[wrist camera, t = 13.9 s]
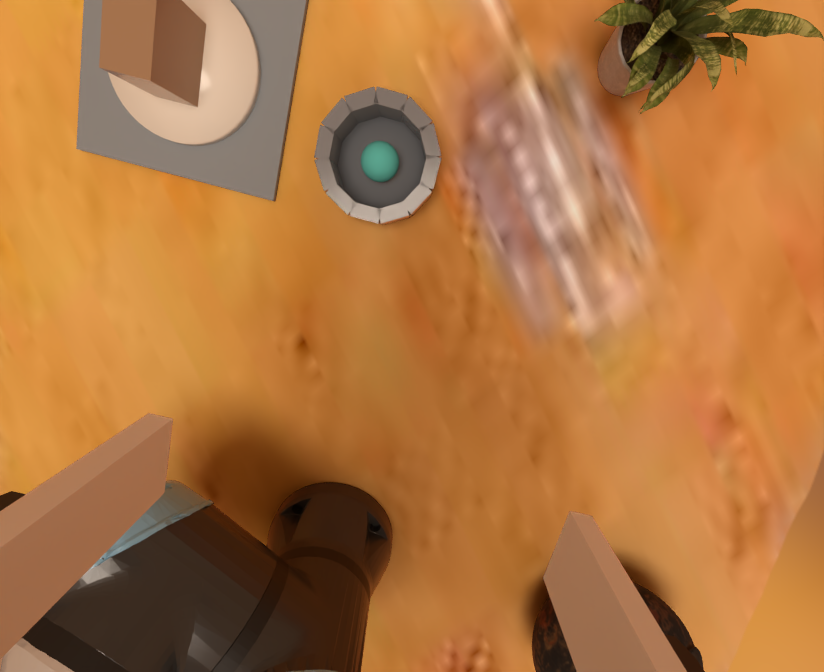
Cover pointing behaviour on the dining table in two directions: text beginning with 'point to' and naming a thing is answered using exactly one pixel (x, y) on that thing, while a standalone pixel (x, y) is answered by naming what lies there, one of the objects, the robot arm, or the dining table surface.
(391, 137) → the bowl
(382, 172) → the ball
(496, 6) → the dining table surface
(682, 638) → the black vase
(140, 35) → the lid
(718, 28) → the house plant
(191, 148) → the mat
